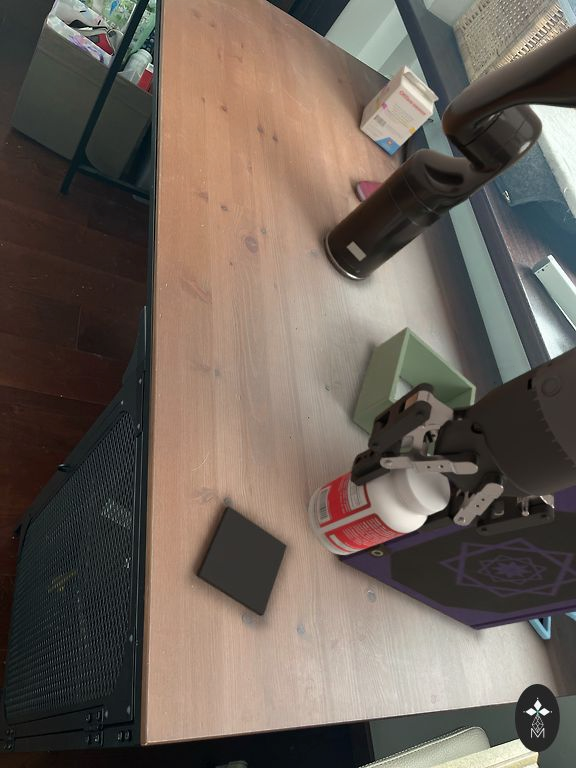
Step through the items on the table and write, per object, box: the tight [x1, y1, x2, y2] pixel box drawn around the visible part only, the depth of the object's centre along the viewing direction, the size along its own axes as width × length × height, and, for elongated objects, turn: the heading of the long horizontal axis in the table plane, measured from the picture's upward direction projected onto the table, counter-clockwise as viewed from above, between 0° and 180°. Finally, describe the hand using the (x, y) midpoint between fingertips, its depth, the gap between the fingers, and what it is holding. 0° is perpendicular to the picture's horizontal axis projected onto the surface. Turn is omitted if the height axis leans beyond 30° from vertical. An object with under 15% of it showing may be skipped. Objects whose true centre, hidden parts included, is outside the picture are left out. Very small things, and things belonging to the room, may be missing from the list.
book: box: [339, 478, 576, 631], centre depth 66 cm, size 24×6×30 cm, turn 77°
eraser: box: [354, 180, 383, 203], centre depth 112 cm, size 11×4×2 cm, turn 117°
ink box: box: [359, 64, 439, 156], centre depth 120 cm, size 9×8×13 cm
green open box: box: [352, 326, 477, 456], centre depth 87 cm, size 15×15×7 cm
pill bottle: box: [307, 454, 450, 556], centre depth 50 cm, size 6×6×11 cm
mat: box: [196, 506, 287, 617], centre depth 63 cm, size 8×8×1 cm
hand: (387, 497), depth 49 cm, fingers closed on pill bottle, 6 cm apart
